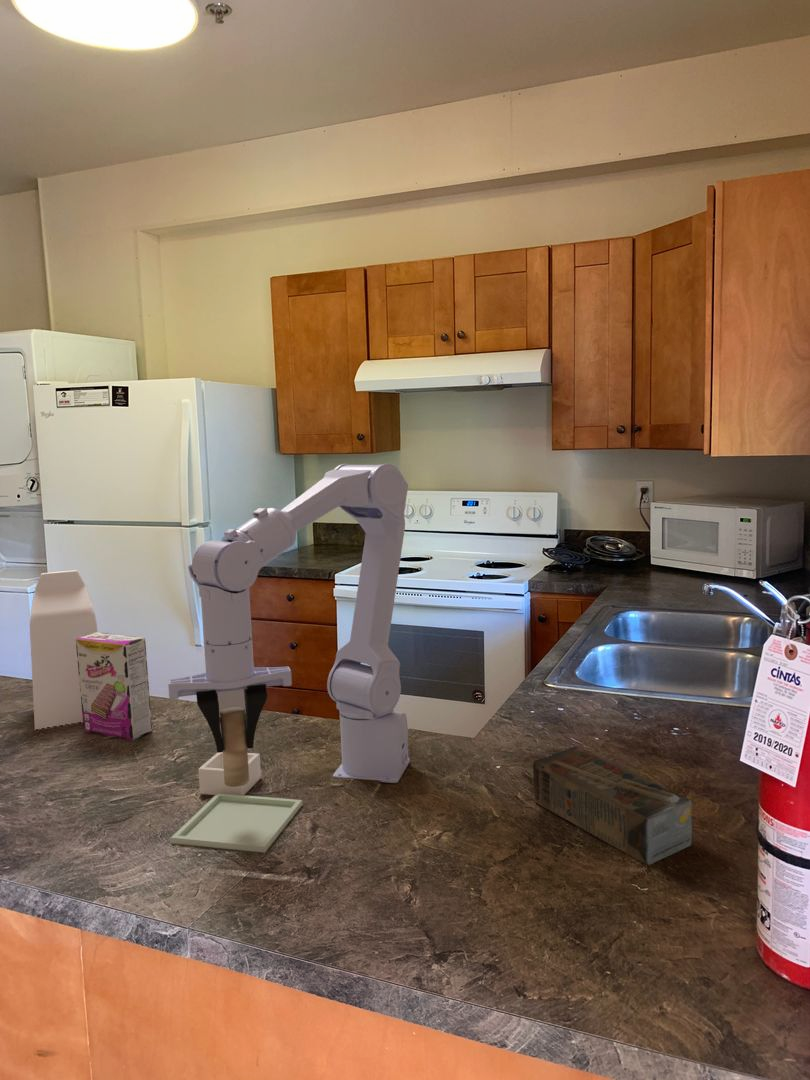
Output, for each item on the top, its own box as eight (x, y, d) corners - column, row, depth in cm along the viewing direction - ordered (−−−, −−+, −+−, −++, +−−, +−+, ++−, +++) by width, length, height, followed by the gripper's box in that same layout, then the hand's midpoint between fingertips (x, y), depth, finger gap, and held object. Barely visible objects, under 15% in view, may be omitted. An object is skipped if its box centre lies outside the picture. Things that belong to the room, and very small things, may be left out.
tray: (302, 808, 103) (301, 800, 103) (265, 856, 91) (264, 846, 91) (218, 801, 106) (217, 793, 105) (171, 847, 94) (170, 837, 94)
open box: (261, 780, 112) (259, 753, 111) (242, 800, 106) (240, 771, 105) (221, 777, 113) (219, 750, 113) (200, 796, 107) (198, 768, 107)
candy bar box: (81, 733, 133) (73, 638, 131) (104, 723, 137) (96, 631, 135) (132, 742, 128) (124, 643, 126) (154, 731, 133) (146, 636, 130)
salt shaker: (240, 723, 135) (235, 649, 133) (209, 721, 136) (204, 648, 135) (253, 711, 141) (249, 640, 139) (223, 710, 142) (219, 639, 140)
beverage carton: (646, 870, 86) (646, 812, 85) (530, 804, 102) (529, 756, 102) (694, 848, 90) (694, 793, 90) (575, 788, 107) (574, 742, 106)
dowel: (247, 774, 100) (243, 705, 98) (250, 784, 97) (246, 713, 96) (223, 778, 99) (218, 709, 97) (225, 788, 96) (221, 717, 95)
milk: (34, 730, 135) (20, 580, 132) (35, 709, 146) (22, 570, 142) (109, 718, 140) (97, 573, 137) (105, 699, 150) (94, 564, 147)
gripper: (283, 626, 101) (289, 728, 103) (165, 638, 97) (173, 743, 99) (291, 639, 94) (297, 748, 96) (165, 652, 90) (173, 765, 92)
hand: (234, 747), depth 97 cm, fingers closed on dowel, 3 cm apart
